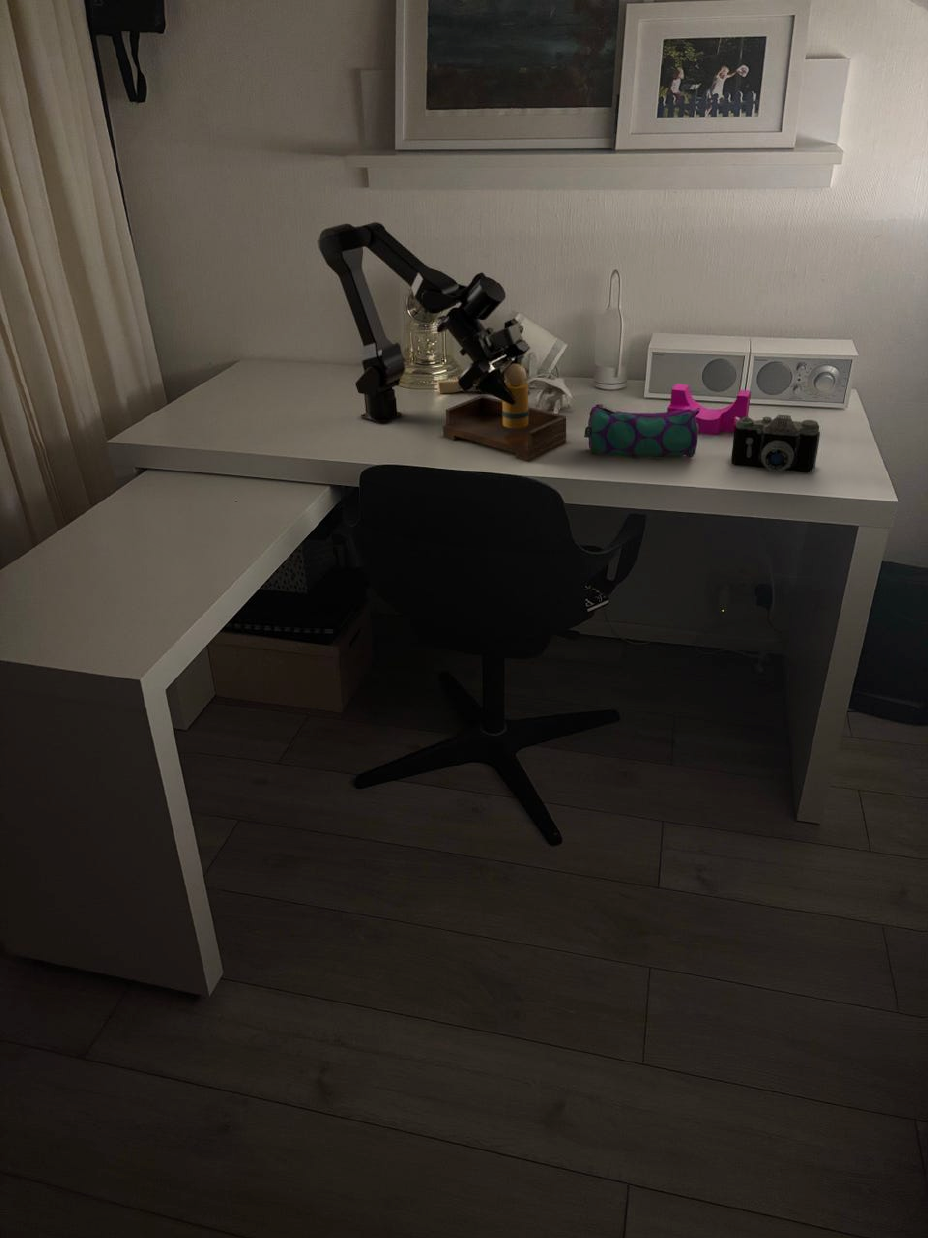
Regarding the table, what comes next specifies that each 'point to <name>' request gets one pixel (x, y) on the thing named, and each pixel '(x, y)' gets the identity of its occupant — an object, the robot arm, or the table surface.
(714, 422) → the toy block
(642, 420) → the pencil case
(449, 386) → the toy figure
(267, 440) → the table surface
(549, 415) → the wooden desk tray
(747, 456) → the camera
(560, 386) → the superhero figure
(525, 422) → the doll
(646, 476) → the table surface
